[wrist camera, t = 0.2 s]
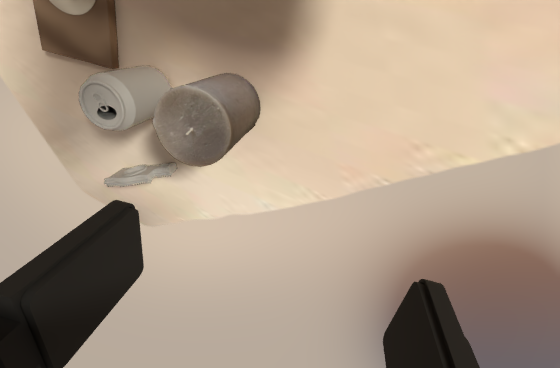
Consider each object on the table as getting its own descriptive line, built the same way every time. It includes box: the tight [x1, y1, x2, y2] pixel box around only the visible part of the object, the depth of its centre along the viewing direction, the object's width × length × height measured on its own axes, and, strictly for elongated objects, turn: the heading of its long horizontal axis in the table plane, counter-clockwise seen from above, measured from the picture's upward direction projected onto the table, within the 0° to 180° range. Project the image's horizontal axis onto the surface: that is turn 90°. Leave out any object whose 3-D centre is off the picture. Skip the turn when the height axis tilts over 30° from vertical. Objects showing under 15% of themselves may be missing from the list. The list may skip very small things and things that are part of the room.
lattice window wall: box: [104, 163, 177, 187], centre depth 51 cm, size 12×2×6 cm, turn 101°
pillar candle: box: [152, 73, 260, 167], centre depth 39 cm, size 10×10×15 cm
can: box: [79, 66, 171, 131], centre depth 41 cm, size 8×8×12 cm
